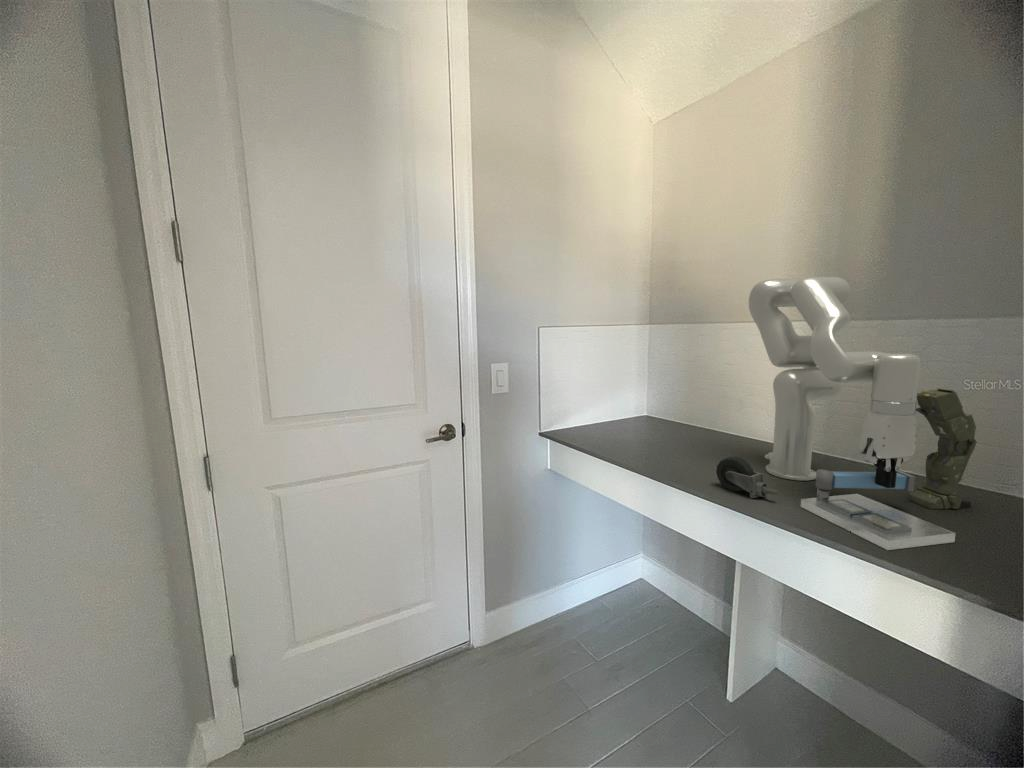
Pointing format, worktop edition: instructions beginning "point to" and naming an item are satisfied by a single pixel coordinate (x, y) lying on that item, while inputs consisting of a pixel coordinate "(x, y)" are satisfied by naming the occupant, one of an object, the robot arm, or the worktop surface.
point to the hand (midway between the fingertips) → (884, 485)
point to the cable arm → (859, 480)
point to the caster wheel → (742, 477)
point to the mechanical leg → (945, 449)
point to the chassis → (876, 521)
